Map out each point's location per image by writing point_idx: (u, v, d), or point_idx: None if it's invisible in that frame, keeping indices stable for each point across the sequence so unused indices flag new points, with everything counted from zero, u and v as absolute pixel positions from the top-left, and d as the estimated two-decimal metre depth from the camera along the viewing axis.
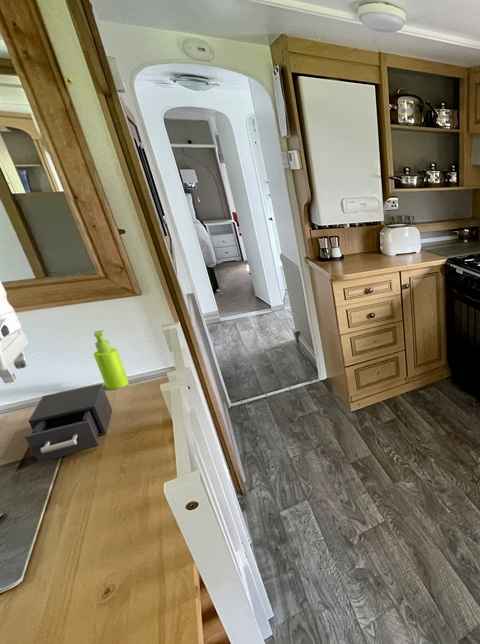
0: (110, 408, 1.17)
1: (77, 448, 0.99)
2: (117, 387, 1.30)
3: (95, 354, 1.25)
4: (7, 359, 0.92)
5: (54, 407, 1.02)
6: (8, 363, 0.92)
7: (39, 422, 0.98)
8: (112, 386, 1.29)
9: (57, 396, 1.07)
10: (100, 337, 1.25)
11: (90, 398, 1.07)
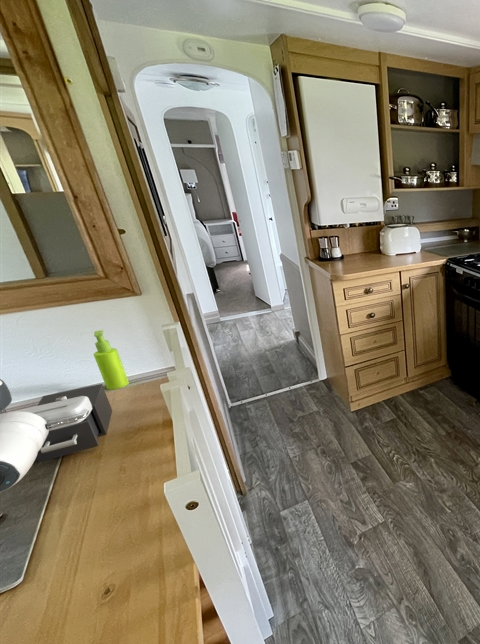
0: (110, 408, 1.17)
1: (77, 448, 0.99)
2: (117, 387, 1.30)
3: (95, 354, 1.25)
4: None
5: None
6: None
7: None
8: (112, 386, 1.29)
9: (57, 396, 1.07)
10: (100, 337, 1.25)
11: (90, 398, 1.07)
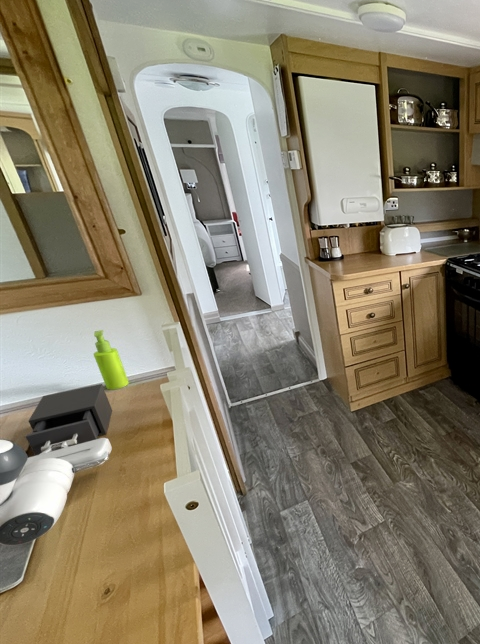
0: (110, 408, 1.17)
1: None
2: (117, 387, 1.30)
3: (95, 354, 1.25)
4: None
5: (54, 407, 1.02)
6: None
7: (39, 421, 0.98)
8: (112, 386, 1.29)
9: (57, 396, 1.07)
10: (100, 337, 1.25)
11: (90, 398, 1.07)
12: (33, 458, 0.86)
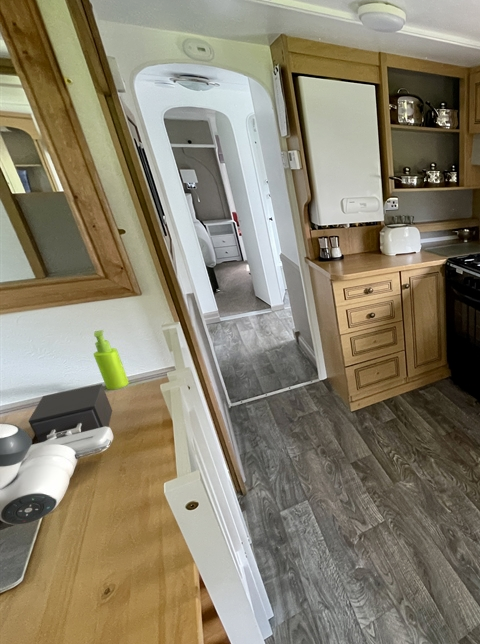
0: (110, 408, 1.17)
1: None
2: (117, 387, 1.30)
3: (95, 354, 1.25)
4: None
5: (54, 407, 1.02)
6: None
7: None
8: (112, 386, 1.29)
9: (57, 396, 1.07)
10: (100, 337, 1.25)
11: (90, 398, 1.07)
12: (39, 445, 0.91)
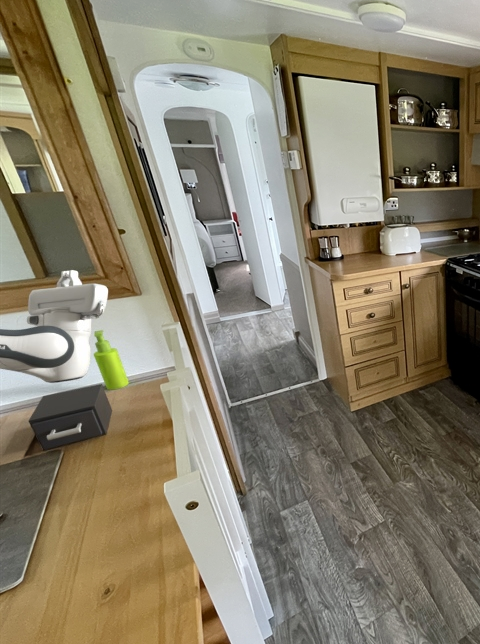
0: (110, 408, 1.17)
1: (81, 436, 1.03)
2: (117, 387, 1.30)
3: (95, 354, 1.25)
4: None
5: (54, 407, 1.02)
6: None
7: None
8: (112, 386, 1.29)
9: (57, 396, 1.07)
10: (100, 337, 1.25)
11: (90, 398, 1.07)
12: (52, 292, 1.00)
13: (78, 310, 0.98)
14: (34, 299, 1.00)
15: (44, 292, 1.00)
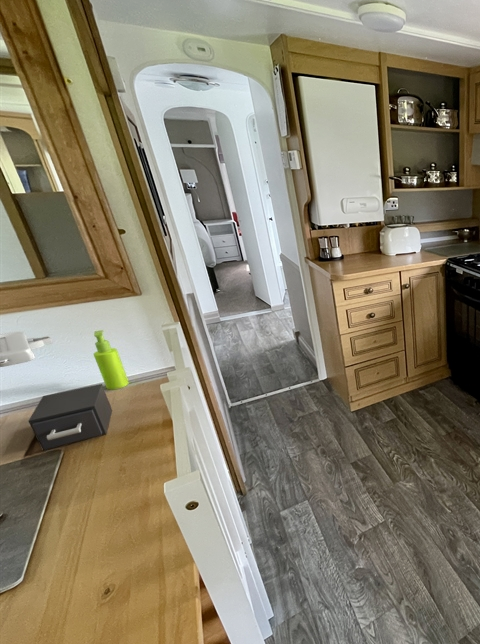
0: (110, 408, 1.17)
1: (81, 436, 1.03)
2: (117, 387, 1.30)
3: (95, 354, 1.25)
4: None
5: (54, 407, 1.02)
6: None
7: None
8: (112, 386, 1.29)
9: (57, 396, 1.07)
10: (100, 337, 1.25)
11: (90, 398, 1.07)
12: (18, 338, 1.13)
13: None
14: (10, 334, 1.15)
15: (19, 335, 1.15)
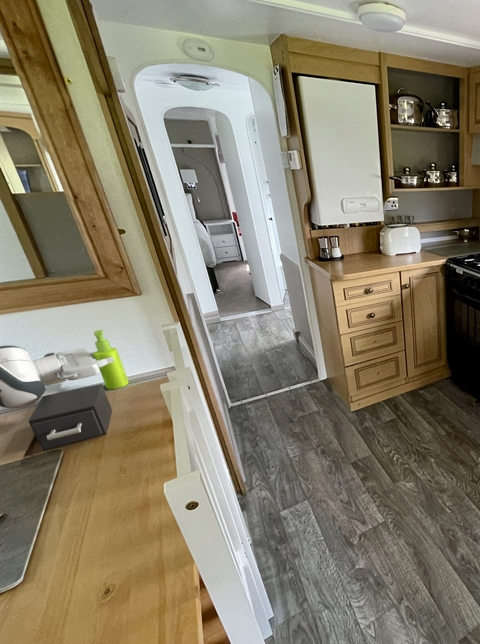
0: (110, 408, 1.17)
1: (81, 436, 1.03)
2: (117, 387, 1.30)
3: (95, 353, 1.25)
4: None
5: (54, 407, 1.02)
6: None
7: None
8: (112, 386, 1.29)
9: (57, 396, 1.07)
10: (100, 336, 1.25)
11: (90, 398, 1.07)
12: (83, 354, 1.25)
13: (63, 367, 1.17)
14: (75, 351, 1.28)
15: (83, 352, 1.27)
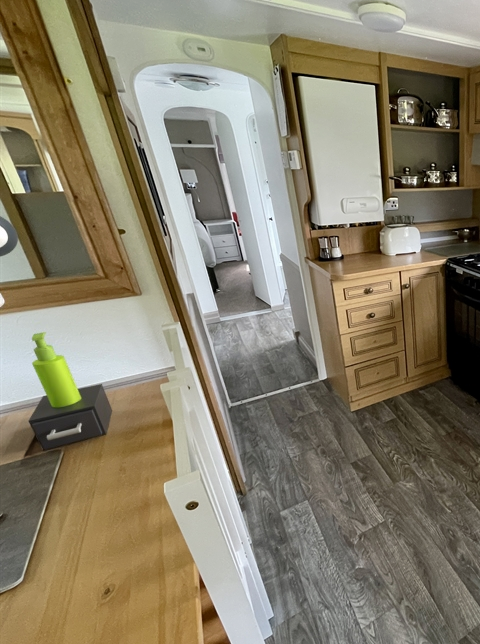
0: (110, 408, 1.17)
1: (81, 436, 1.03)
2: (65, 404, 1.03)
3: (34, 363, 0.98)
4: None
5: (54, 407, 1.02)
6: None
7: None
8: (58, 403, 1.02)
9: None
10: (40, 341, 0.98)
11: (90, 398, 1.07)
12: None
13: None
14: None
15: None
